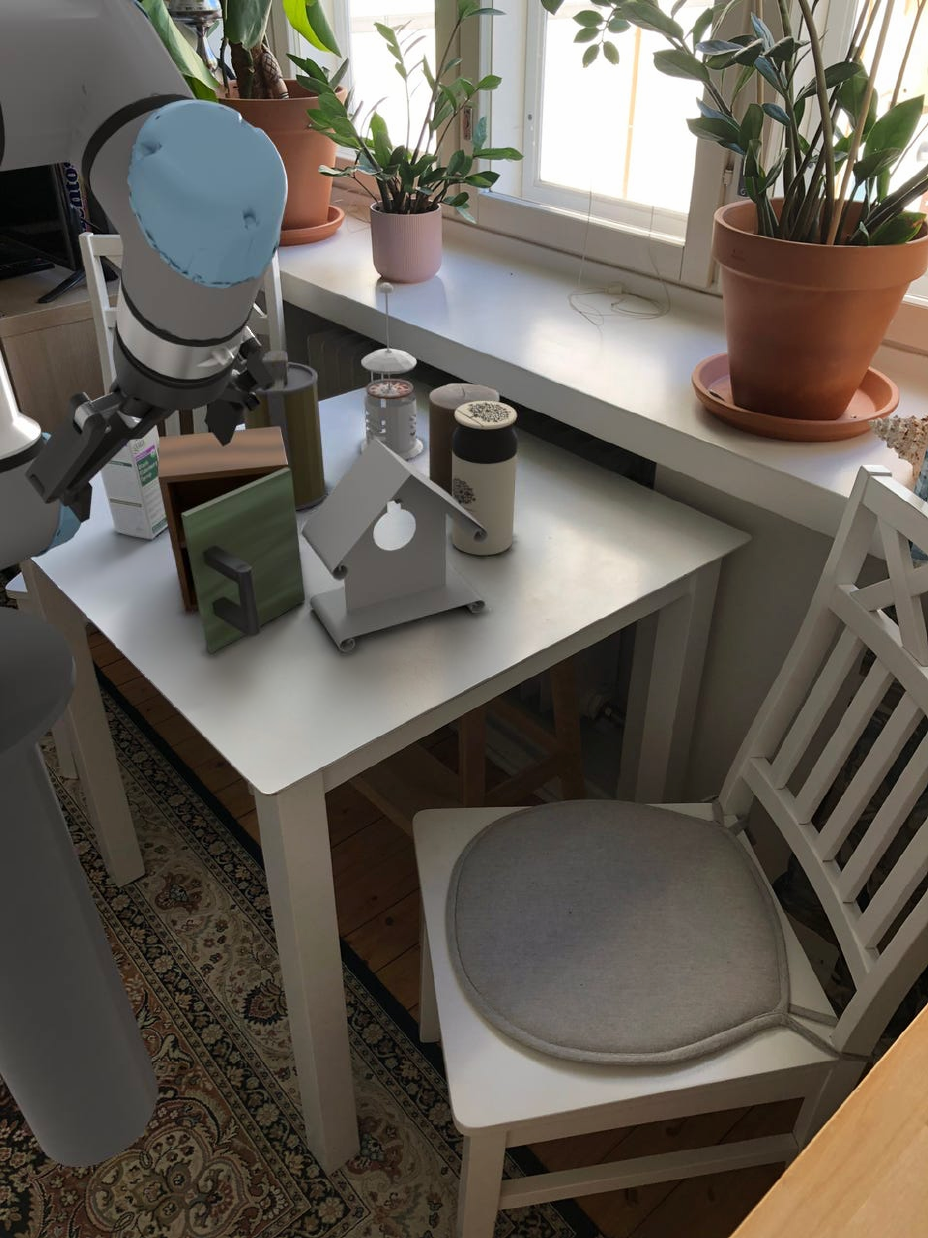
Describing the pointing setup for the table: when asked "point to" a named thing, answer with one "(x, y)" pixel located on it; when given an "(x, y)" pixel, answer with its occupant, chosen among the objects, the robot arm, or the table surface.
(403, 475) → the grey house-shaped piece
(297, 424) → the canister
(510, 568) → the table surface
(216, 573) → the door
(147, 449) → the syrup box
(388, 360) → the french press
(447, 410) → the pillar candle
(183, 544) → the compartment
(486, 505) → the travel mug
